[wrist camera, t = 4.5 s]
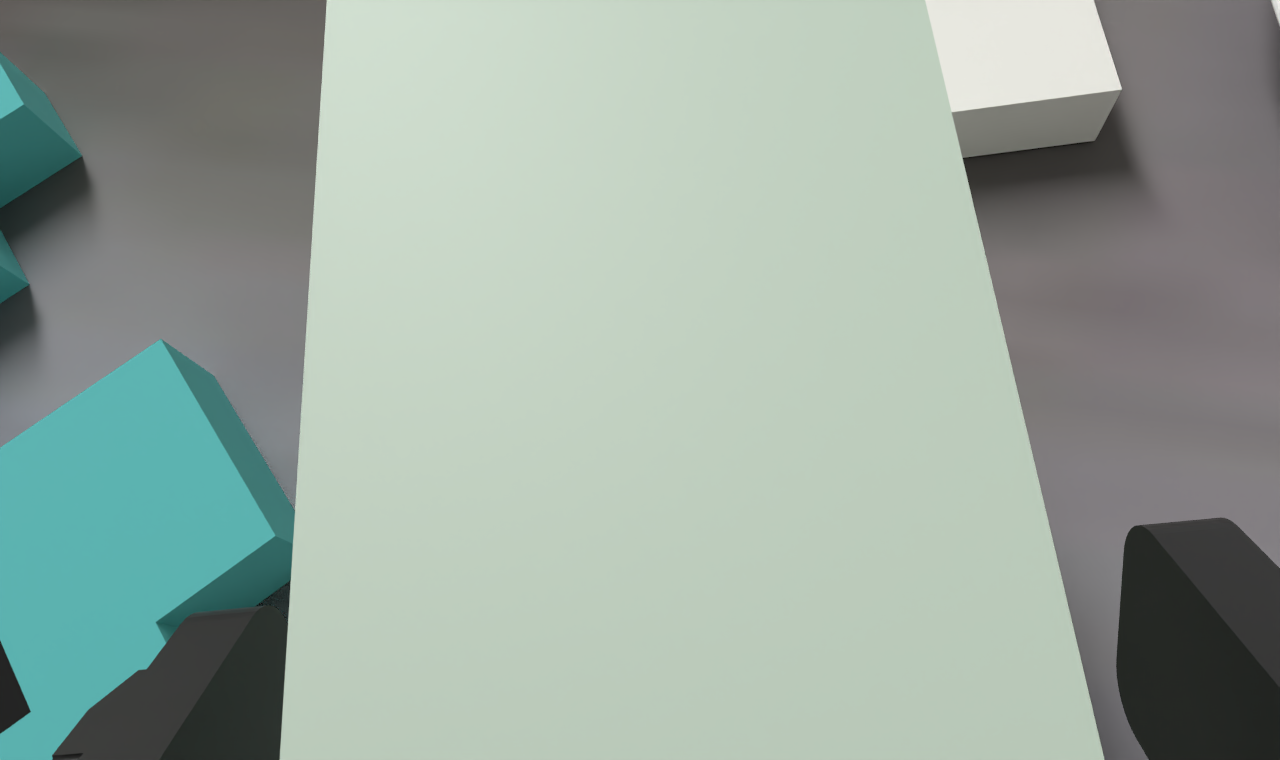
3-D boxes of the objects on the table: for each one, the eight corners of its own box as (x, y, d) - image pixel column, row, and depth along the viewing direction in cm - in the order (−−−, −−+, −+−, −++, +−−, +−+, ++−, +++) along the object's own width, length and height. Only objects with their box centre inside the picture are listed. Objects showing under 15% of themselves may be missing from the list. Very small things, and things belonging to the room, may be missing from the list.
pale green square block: (580, 970, 14) (243, 1343, 5) (553, 352, 18) (332, -79, 9) (924, 949, 14) (1235, 1314, 5) (823, 321, 18) (885, -166, 8)
